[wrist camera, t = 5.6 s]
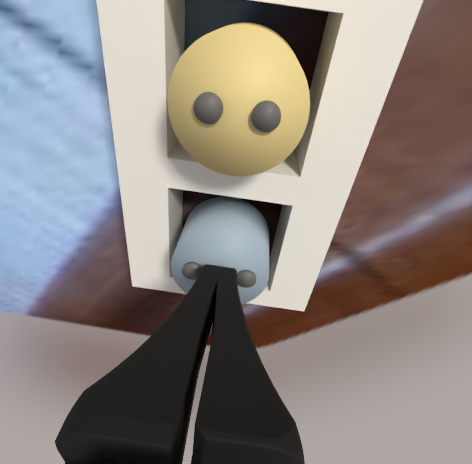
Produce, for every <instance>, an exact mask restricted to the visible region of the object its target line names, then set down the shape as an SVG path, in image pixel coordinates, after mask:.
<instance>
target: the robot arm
mask: <svg viewBox="0 0 472 464" xmlns="http://www.w3.org/2000/svg"><path fill="white" fill-rule="evenodd" d="M212 322H213V327H212V339H211V346H210V352H209V357H208V362H207V367H206V373H205V378H204V383H203V388H202V392H201V398H200V402H199V407H198V412H197V417H196V422H195V431H194V445H193V455H192V460H191V464H305V463H304V454H303V449H302V444H301V440H300V436H299V433H298V429H297V426H296V423H295V421H294V419H293V418H292V416H291V415H290V413H289V411H288V410H287V408H286V406H285V405H284V403H283V402H282V400H281V398H280V396H279V395H278V393H277V391H276V389H275V387H274V386H273V384H272V382H271V380H270V378H269V376H268V374H267V372H266V370H265V368H264V366H263V364H262V362H261V360H260V357H259V355H258V353H257V350H256V348H255V345H254V343H253V340H252V338H251V335H250V332H249V329H248V326H247V323H246V320H245V317H244V313H243V309H242V305H241V301H240V296H239V291H238V284H237V270H236V269H235V268H229V267H222V266H215V265H208V264H206V265H204V266H203V268H202V270H201V272H200V274H199V276H198V278H197V279H196V281H195V283H194V284H193V286H192V287H191V289H190V290H189V292H188V293H187V294H186V296H185V297H184V299H183V300H182V301H181V303H180V304H179V305H178V306H177V308H176V309H175V310H174V311H173V313H172V314H171V315H170V316H169V317H168V319H167V320H166V321H165V322H164V323H163V324H162V325H161V326H160V327H159V329H158V330H157V331H156V332H155V333H154V334H153V335H152V336H151V337H150V338H149V339H148V340H147V341H146V342H145V343H143V344H142V345H141V346H140V347H139V348H138V349H137V350H136V351H135V352H134V353H132V354H131V355H130V356H129V357H128V358H127V359H125V360H124V361H123V362H122V363H120V364H119V365H118V366H117V367H116V368H114V369H113V370H112V371H111V372H109V373H108V374H107V375H105V376H104V377H102V378H101V379H100V380H98V381H97V382H96V383H94V384H93V385H92V386H90V387H89V388H87V389H86V390H85V391H84V392H83V393H82V395H81V396H80V397H79V399H78V400H77V402H76V403H75V405H74V406H73V408H72V409H71V411H70V413H69V414H68V416H67V417H66V420H65V422H64V424H63V426H62V428H61V430H60V432H59V434H58V436H57V438H56V440H55V443H56V447H57V449H58V451H59V453H60V454H61V456H62V458H63V459H64V461H65V464H182V461H183V455H184V449H185V444H186V437H187V432H188V427H189V421H190V416H191V410H192V405H193V400H194V394H195V388H196V383H197V378H198V374H199V369H200V366H201V362H202V359H203V355H204V352H205V348H206V344H207V341H208V337H209V333H210V330H211V326H212Z"/></svg>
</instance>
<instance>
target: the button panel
mask: <svg viewBox="0 0 472 464" xmlns="http://www.w3.org/2000/svg"><path fill="white" fill-rule="evenodd" d="M247 1H254V2H261V3H268V4H275V5H282V6H289V7H296V8H303V9H310V10H317V11H324V12H328V16H327V21H326V25H325V29H324V33H323V37H322V41H321V46H320V50H319V54H318V58H317V62H316V66H315V71H314V75H313V79H312V83H311V87H310V92H309V93H310V113H309V118H308V123H307V126H306V129H305V132H304V134H303V136H302V138H301V140H300V142H299V143H298V145H297V147H296V150H293V152H292V153H291V154H290V155H289V156H288V157H287V158H286V159H285V160H284V161H282V162H281V163H280V164H278V165H277V166H275V167H273V168H272V169H270V170H268V171H265V172H263V173H259V174H256V175H251V176H229V175H224V174H220V173H217V172H214V171H212V170H210V169H208V168H206V167H205V166H203V165H201V164H200V163H199V162H197V161H196V160H195V159H193V158H192V157H191V156H190V155H189V154H188V153H187V151H186V150H185V149H184V148H183V146H182V145H181V143H180V142H179V140H178V139H177V137H176V135H175V132H174V130H173V128H172V125H171V122H170V117H169V112H168V102H167V101H168V88H169V82H170V79H171V76H172V72H173V70H174V68H175V66H176V64H177V62H178V60H179V59H180V57H181V56H182V54H183V53H184V52H185V0H96V2H97V10H98V18H99V26H100V34H101V42H102V50H103V58H104V66H105V74H106V82H107V90H108V98H109V105H110V113H111V121H112V129H113V137H114V145H115V153H116V161H117V169H118V177H119V185H120V193H121V201H122V209H123V217H124V225H125V233H126V240H127V248H128V256H129V264H130V272H131V280H132V286H134V287H140V288H147V289H154V290H161V291H168V292H175V293H182V294H186V293H185V292H184V291H183V290H182V289H181V288H180V287H179V286H178V285H177V283H176V282H175V280H174V278H173V276H172V272H171V260H172V256H173V254H174V251H175V249H176V246H177V244H178V241H179V238H180V236H181V233H182V216H183V190H188V191H195V192H201V193H208V194H215V195H222V196H229V197H236V198H243V199H250V200H257V201H264V202H271V203H277V204H282V208H281V213H280V217H279V221H278V225H277V229H276V233H275V238H274V242H273V246H272V250H271V254H270V256H269V280H268V283H267V286H266V287H265V289H264V290H263V292H262V293H261V294H260V295H259V296H257V297H256V298H255V299H253V300H251V301H249V302H247V303H250V304H257V305H264V306H271V307H278V308H285V309H291V310H298V311H305V308H306V305H307V303H308V300H309V298H310V295H311V292H312V290H313V287H314V284H315V282H316V279H317V277H318V274H319V271H320V269H321V266H322V264H323V261H324V258H325V256H326V253H327V251H328V248H329V245H330V243H331V240H332V237H333V235H334V232H335V230H336V227H337V224H338V222H339V219H340V217H341V214H342V211H343V209H344V206H345V203H346V201H347V198H348V196H349V193H350V190H351V188H352V185H353V183H354V180H355V177H356V175H357V172H358V169H359V167H360V164H361V162H362V159H363V156H364V154H365V151H366V149H367V146H368V143H369V141H370V138H371V135H372V133H373V130H374V128H375V125H376V122H377V120H378V117H379V115H380V112H381V109H382V107H383V104H384V101H385V99H386V96H387V94H388V91H389V88H390V86H391V83H392V81H393V78H394V75H395V73H396V70H397V67H398V65H399V62H400V60H401V57H402V54H403V52H404V49H405V47H406V44H407V41H408V39H409V36H410V33H411V31H412V28H413V26H414V23H415V20H416V18H417V15H418V13H419V10H420V7H421V5H422V2H423V0H247Z"/></svg>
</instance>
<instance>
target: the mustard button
mask: <svg viewBox="0 0 472 464" xmlns="http://www.w3.org/2000/svg"><path fill="white" fill-rule="evenodd" d="M167 102H168V112H169V117H170V122H171V125H172V128H173V130H174V132H175V135H176V137H177V139H178V140H179V142H180V143H181V145H182V146H183V148H184V149H185V150H186V151H187V153H188V154H189V155H190V156H191V157H192V158H193V159H195V160H196V161H197V162H199V163H200V164H201V165H203V166H205V167H206V168H208V169H210V170H212V171H214V172H217V173H220V174H224V175H229V176H251V175H256V174H259V173H263V172H265V171H268V170H270V169H272V168H273V167H275V166H277V165H278V164H280V163H281V162H282V161H284V160H285V159H286V158H287V157H288V156H289V155H290V154H291V153H292V152H293V150H294V149H295V148H296V147H297V145H298V143H299V142H300V140H301V138H302V136H303V134H304V132H305V129H306V126H307V123H308V118H309V113H310V93H309V87H308V83H307V79H306V76H305V74H304V71H303V69H302V67H301V65H300V63H299V61H298V59H297V58H296V56H295V54H294V52H293V50H292V49H291V47H290V46H289V44H288V43H287V42H286V41H285V40H284V39H283V38H282V37H281V36H280V35H279V34H278V33H276V32H275V31H273V30H272V29H270V28H268V27H266V26H263V25H261V24H256V23H251V22H239V23H233V24H229V25H226V26H224V27H222V28H219V29H217V30H214V31H212V32H210V33H208V34H205V35H204V36H202V37H201V38H199V39H197V40H196V41H195V42H194V43H193V44H192V45H190V46H189V47H188V48H187V50H186V51H185V52H184V53H183V54H182V56H181V57H180V59H179V60H178V62H177V64H176V66H175V68H174V70H173V72H172V76H171V79H170V82H169V88H168V101H167Z"/></svg>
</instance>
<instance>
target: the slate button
mask: <svg viewBox="0 0 472 464" xmlns="http://www.w3.org/2000/svg"><path fill="white" fill-rule="evenodd" d="M206 264H208V265H215V266H222V267H229V268H235V269H236V270H237V284H238V291H239V296H240V301H241V304H244V303H247V302H249V301H251V300H253V299H255V298H256V297H257V296H259V295H260V294H261V293H262V292H263V290H264V289H265V287H266V286H267V283H268V280H269V228H268V224H267V221H266V220H265V218H264V216H263V215H262V214H261V212H260V211H259V210H258V209H256V208H255V207H254V206H253V205H251V204H249V203H248V202H245V201H243V200H240V199H237V198H232V197H216V198H212V199H208V200H206V201H203V202H202V203H200V204H198V205H197V206H196V207H195V208H194V209H193V210H192V211H191V213H190V214H189V216H188V218H187V220H186V223H185V226H184V228H183V231H182V233H181V236H180V238H179V241H178V244H177V246H176V249H175V251H174V254H173V256H172V260H171V272H172V276H173V278H174V280H175V282H176V283H177V285H178V286H179V287H180V288H181V289H182V290H183V291H184V292H185V293H186V294H187V293H188V292H189V290H190V289H191V287H192V286H193V284H194V283H195V281H196V279H197V278H198V276H199V274H200V272H201V270H202V268H203V266H204V265H206Z"/></svg>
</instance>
